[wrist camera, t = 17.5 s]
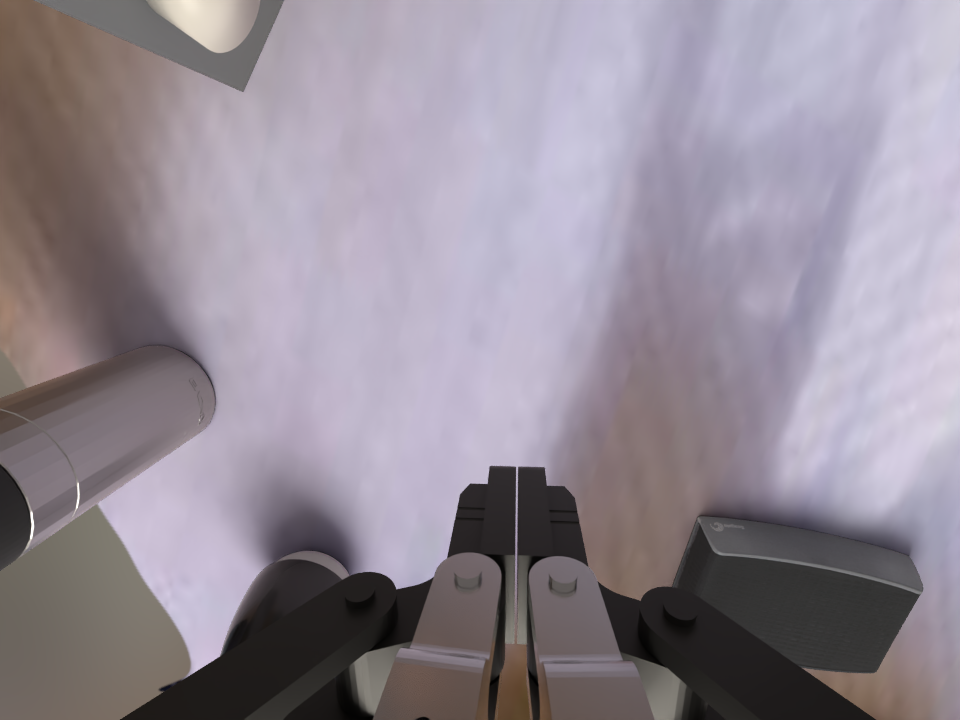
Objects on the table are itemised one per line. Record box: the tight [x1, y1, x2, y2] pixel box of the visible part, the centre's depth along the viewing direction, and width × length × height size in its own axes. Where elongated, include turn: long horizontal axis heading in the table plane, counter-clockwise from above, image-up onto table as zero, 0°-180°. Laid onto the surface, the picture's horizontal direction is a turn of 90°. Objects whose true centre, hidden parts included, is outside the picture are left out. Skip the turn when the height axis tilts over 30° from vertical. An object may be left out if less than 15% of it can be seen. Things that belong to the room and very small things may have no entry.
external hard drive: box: [672, 516, 923, 673], centre depth 43 cm, size 13×19×4 cm
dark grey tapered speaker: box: [220, 551, 350, 656], centre depth 41 cm, size 10×10×15 cm
